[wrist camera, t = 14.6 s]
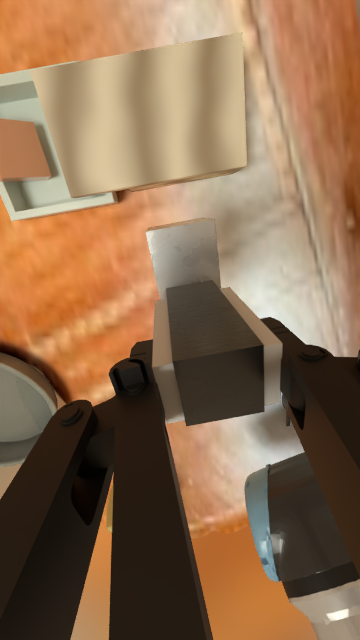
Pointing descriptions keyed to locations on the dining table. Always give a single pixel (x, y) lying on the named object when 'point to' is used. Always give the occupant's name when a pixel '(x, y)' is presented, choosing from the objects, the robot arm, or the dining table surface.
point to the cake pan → (22, 408)
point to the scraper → (205, 326)
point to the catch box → (52, 194)
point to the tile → (21, 153)
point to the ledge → (147, 116)
